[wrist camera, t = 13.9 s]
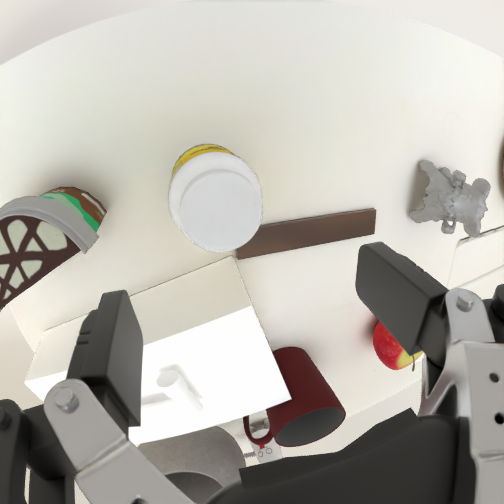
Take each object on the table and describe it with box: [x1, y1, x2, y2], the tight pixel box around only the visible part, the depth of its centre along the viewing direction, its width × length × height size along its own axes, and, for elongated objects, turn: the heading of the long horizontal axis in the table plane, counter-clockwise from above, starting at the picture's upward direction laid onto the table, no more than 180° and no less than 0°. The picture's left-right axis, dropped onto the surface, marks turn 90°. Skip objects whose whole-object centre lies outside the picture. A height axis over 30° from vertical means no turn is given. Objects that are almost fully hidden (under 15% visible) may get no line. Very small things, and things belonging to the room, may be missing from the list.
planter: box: [138, 426, 246, 504], centre depth 32 cm, size 18×7×19 cm, turn 106°
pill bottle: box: [168, 144, 263, 252], centre depth 21 cm, size 6×6×11 cm
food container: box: [0, 187, 107, 311], centre depth 19 cm, size 12×6×10 cm, turn 114°
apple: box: [373, 321, 423, 371], centre depth 36 cm, size 8×8×10 cm
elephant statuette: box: [410, 160, 490, 237], centre depth 29 cm, size 9×12×8 cm
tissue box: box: [24, 256, 291, 445], centre depth 28 cm, size 14×25×11 cm, turn 108°
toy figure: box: [244, 419, 283, 464], centre depth 42 cm, size 12×6×9 cm, turn 117°
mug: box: [243, 347, 346, 447], centre depth 34 cm, size 12×9×11 cm
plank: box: [236, 208, 376, 260], centre depth 30 cm, size 3×16×1 cm, turn 95°
